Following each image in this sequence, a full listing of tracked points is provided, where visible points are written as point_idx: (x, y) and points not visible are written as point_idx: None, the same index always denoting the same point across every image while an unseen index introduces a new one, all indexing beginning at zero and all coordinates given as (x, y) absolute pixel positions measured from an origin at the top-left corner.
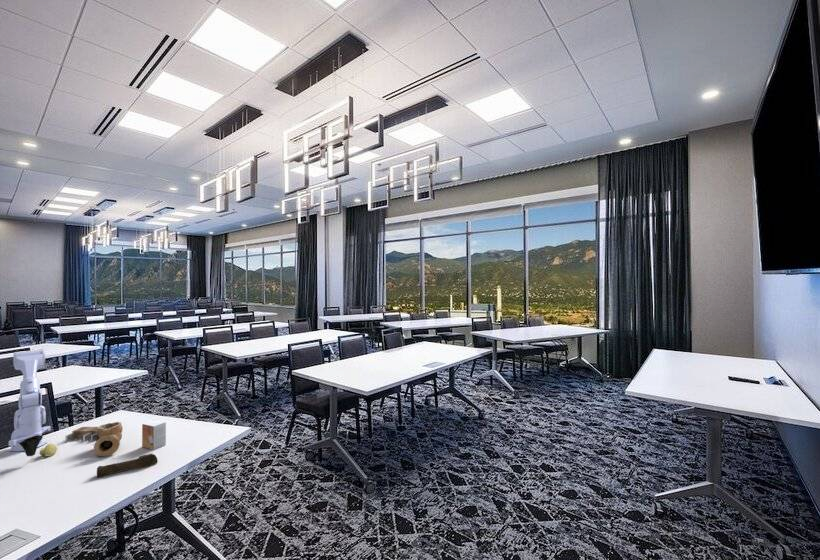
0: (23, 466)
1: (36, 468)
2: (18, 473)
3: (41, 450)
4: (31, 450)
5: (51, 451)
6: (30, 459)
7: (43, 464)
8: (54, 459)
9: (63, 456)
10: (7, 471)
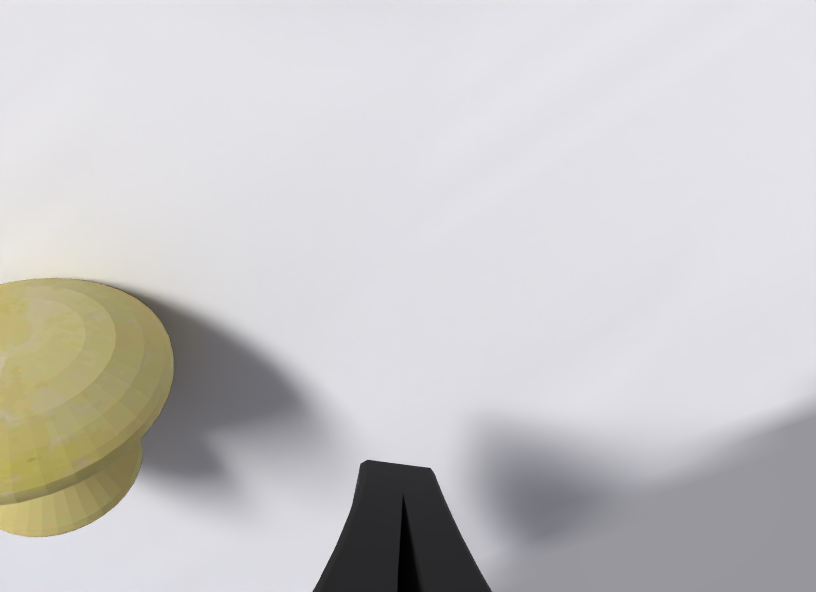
0: (456, 439)
1: (609, 184)
2: (709, 342)
3: (82, 506)
4: (475, 568)
5: (78, 320)
6: (220, 506)
7: (460, 175)
8: (263, 114)
9: (129, 13)
10: (570, 522)
